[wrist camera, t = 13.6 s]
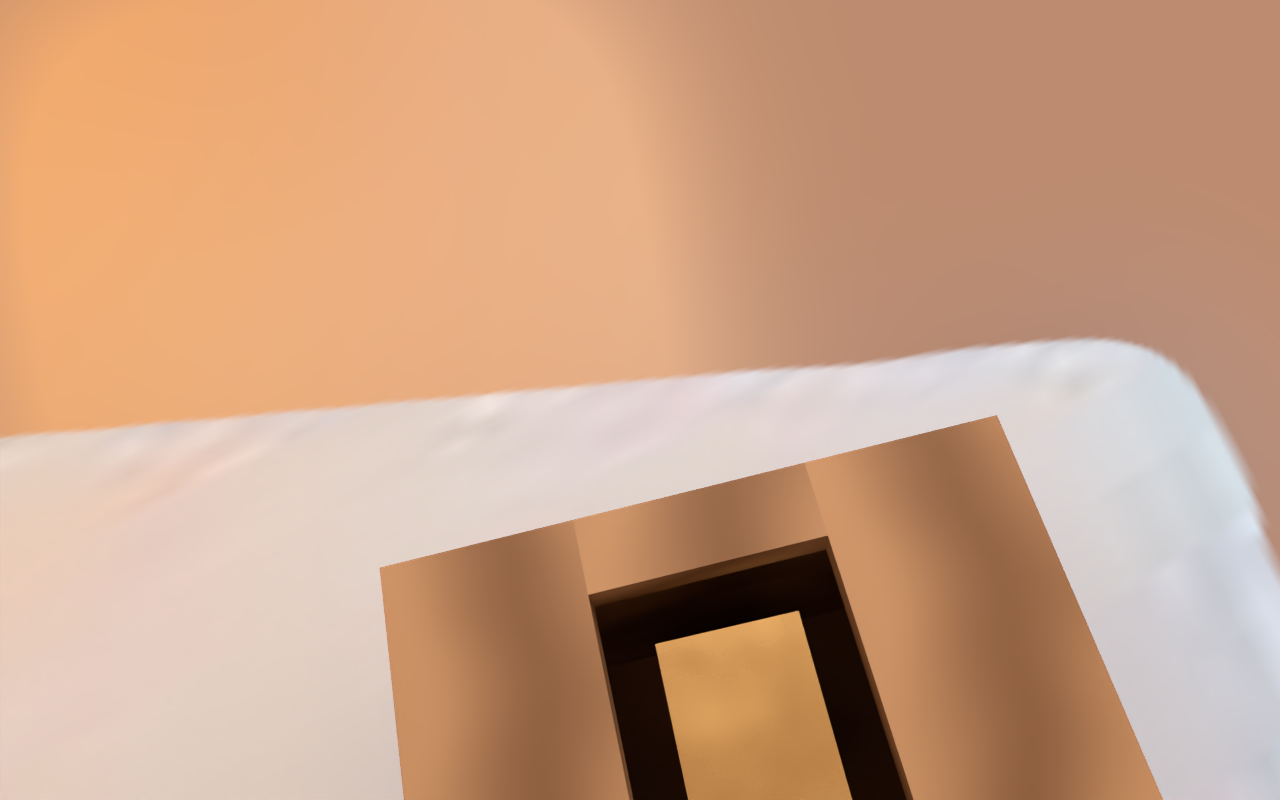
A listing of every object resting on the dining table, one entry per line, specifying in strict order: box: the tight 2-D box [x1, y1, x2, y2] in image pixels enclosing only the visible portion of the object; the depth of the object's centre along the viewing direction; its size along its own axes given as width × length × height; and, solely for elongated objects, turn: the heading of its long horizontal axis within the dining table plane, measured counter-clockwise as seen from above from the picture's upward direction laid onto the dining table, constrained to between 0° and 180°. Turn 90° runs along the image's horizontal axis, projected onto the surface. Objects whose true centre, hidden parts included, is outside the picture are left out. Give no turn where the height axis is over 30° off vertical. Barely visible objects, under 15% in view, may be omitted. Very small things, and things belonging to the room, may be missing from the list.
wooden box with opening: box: [380, 415, 1163, 800], centre depth 29 cm, size 16×12×12 cm
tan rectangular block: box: [655, 611, 852, 800], centre depth 29 cm, size 4×5×11 cm
